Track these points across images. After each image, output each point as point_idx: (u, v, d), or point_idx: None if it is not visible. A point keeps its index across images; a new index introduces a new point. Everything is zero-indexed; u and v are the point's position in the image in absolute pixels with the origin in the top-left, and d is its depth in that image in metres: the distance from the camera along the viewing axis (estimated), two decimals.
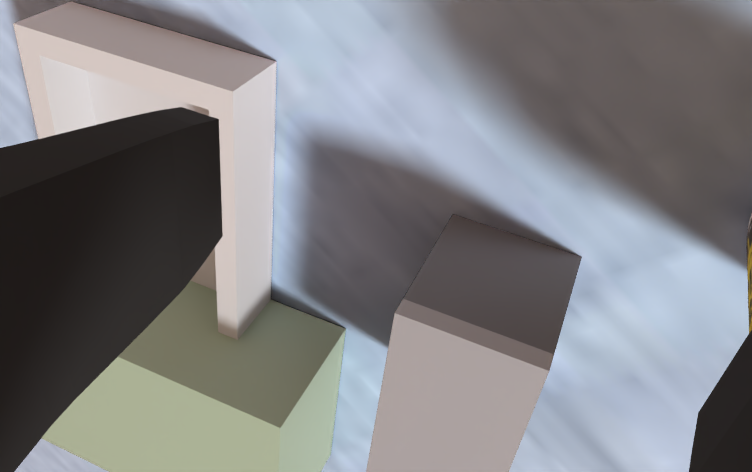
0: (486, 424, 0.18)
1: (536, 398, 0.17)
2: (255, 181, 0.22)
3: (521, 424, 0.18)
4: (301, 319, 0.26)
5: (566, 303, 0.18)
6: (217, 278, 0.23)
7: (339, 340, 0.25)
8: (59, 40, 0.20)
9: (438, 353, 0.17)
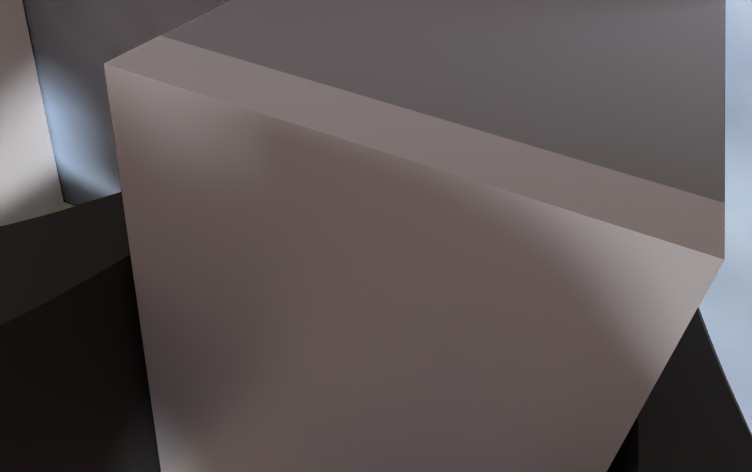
0: None
1: (646, 386, 0.04)
2: None
3: None
4: None
5: (718, 78, 0.06)
6: None
7: None
8: None
9: (275, 223, 0.05)
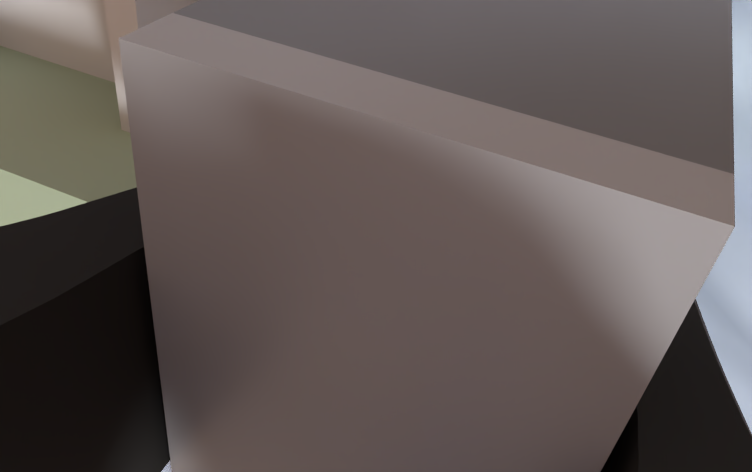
0: (465, 450, 0.06)
1: (656, 356, 0.04)
2: None
3: (585, 454, 0.05)
4: None
5: (725, 58, 0.06)
6: (109, 21, 0.14)
7: None
8: None
9: (287, 197, 0.05)
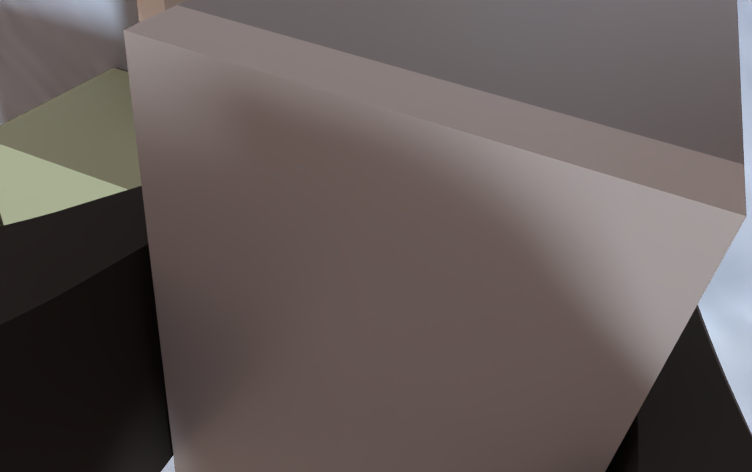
0: (471, 445, 0.06)
1: (665, 348, 0.04)
2: None
3: (593, 450, 0.05)
4: None
5: (732, 50, 0.06)
6: None
7: None
8: None
9: (292, 190, 0.05)
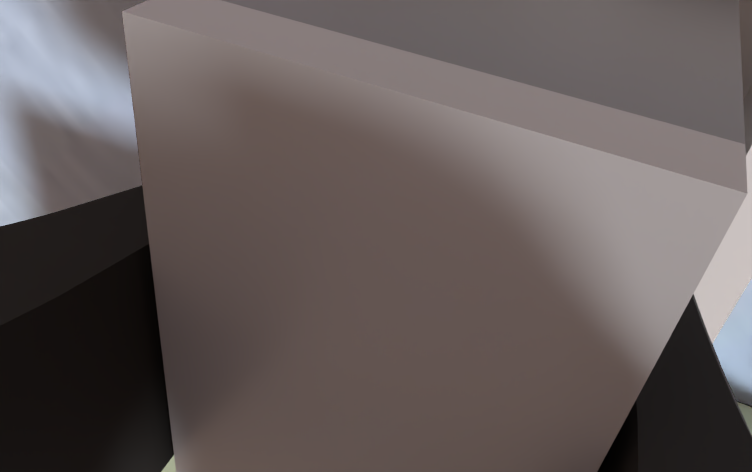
0: (471, 431, 0.06)
1: (666, 330, 0.04)
2: None
3: (593, 435, 0.05)
4: None
5: (733, 35, 0.06)
6: None
7: None
8: None
9: (292, 171, 0.05)
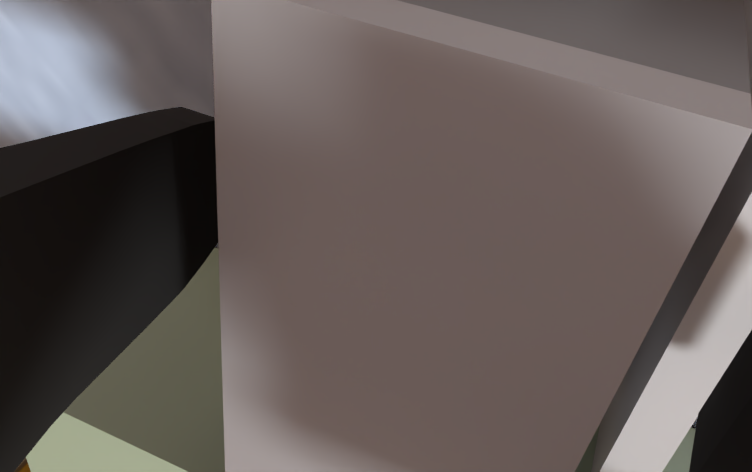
0: (505, 358, 0.06)
1: (681, 254, 0.05)
2: None
3: (614, 353, 0.06)
4: None
5: (738, 9, 0.06)
6: (644, 397, 0.10)
7: None
8: None
9: (357, 122, 0.05)
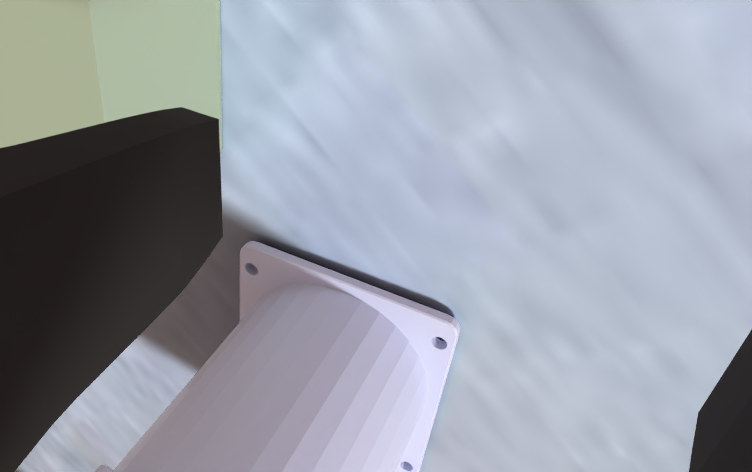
0: None
1: None
2: None
3: None
4: None
5: None
6: None
7: None
8: None
9: None
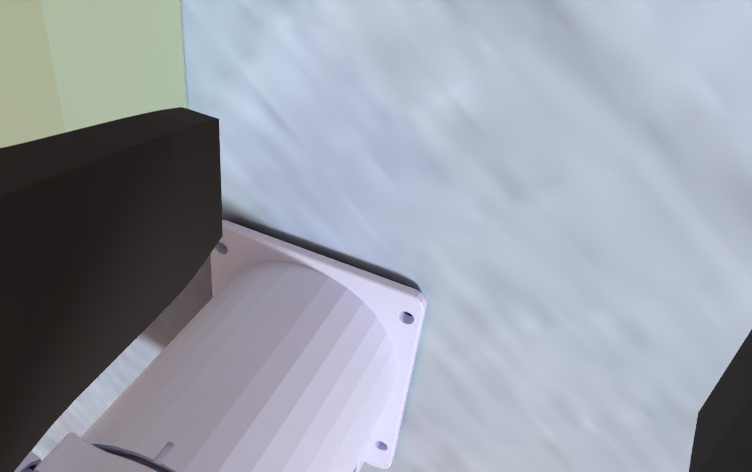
0: None
1: None
2: None
3: None
4: None
5: None
6: None
7: None
8: None
9: None
